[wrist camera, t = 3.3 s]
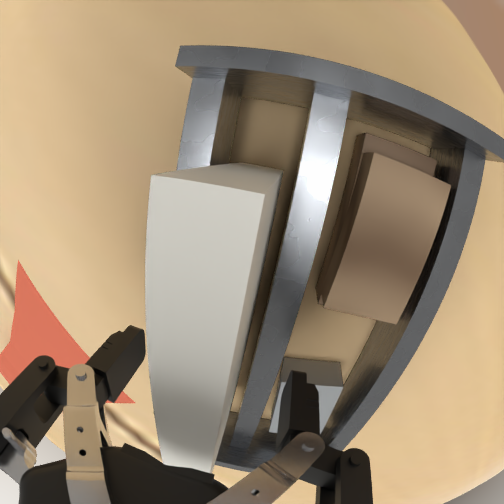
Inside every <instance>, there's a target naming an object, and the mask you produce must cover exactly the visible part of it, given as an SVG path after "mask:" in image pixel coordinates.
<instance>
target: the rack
mask: <svg viewBox="0 0 504 504" xmlns="http://www.w3.org/2000/svg"><path fill="white" fill-rule="evenodd" d="M175 66H176V67H177V68H179V69H180V70H181V71H183V72H184V73H186V74H187V75H189V76H190V77H192V78H193V80H192V85H191V89H190V94H189V99H188V104H187V109H186V115H185V120H184V126H183V131H182V137H181V144H180V150H179V157H178V163H177V170H184V169H191V168H198V167H206V166H214V165H222V164H229V162H230V156H231V150H232V145H233V139H234V134H235V128H236V123H237V118H238V113H239V108H240V103H241V98H242V97H246V98H253V99H260V100H267V101H273V102H279V103H284V104H290V105H295V106H300V107H304V108H309V112H308V117H307V123H306V128H305V133H304V138H303V143H302V148H301V153H300V158H299V163H298V168H297V172H296V177H295V182H294V187H293V191H292V196H291V201H290V205H289V210H288V215H287V219H286V224H285V228H284V233H283V237H282V241H281V246H280V250H279V255H278V259H277V263H276V267H275V272H274V276H273V280H272V284H271V288H270V293H269V297H268V301H267V305H266V309H265V313H264V317H263V321H262V325H261V329H260V333H259V337H258V341H257V345H256V349H255V353H254V356H253V360H252V364H251V368H250V372H249V375H248V379H247V383H246V387H245V390H244V394H243V398H242V401H241V405H240V408H239V412H238V413H234V412H229V416H228V419H227V423H226V427H225V430H224V434H223V437H222V441H221V444H220V448H219V451H218V454H217V458H216V461H215V465H218V466H222V467H226V468H231V469H236V470H241V471H246V472H252V471H254V470H255V469H256V468H257V467H259V466H260V465H261V464H263V463H264V462H268V461H269V460H270V459H272V458H273V457H274V456H275V455H276V454H277V453H275V447H276V438H277V433H273V432H269V427H270V420H268V419H262V418H261V416H262V413H263V411H264V408H265V406H266V403H267V400H268V398H269V395H270V393H271V390H272V387H273V385H274V382H275V379H276V376H277V374H278V371H279V368H280V365H281V362H282V359H283V357H284V354H285V351H286V348H287V345H288V342H289V339H290V336H291V333H292V330H293V327H294V324H295V321H296V317H297V314H298V311H299V308H300V305H301V301H302V298H303V295H304V292H305V288H306V285H307V282H308V278H309V275H310V271H311V268H312V264H313V261H314V257H315V253H316V250H317V246H318V242H319V239H320V235H321V231H322V227H323V223H324V219H325V215H326V211H327V207H328V203H329V199H330V195H331V190H332V186H333V182H334V177H335V173H336V168H337V163H338V159H339V154H340V149H341V144H342V139H343V134H344V129H345V123H346V118H349V119H352V120H356V121H359V122H362V123H365V124H369V125H372V126H375V127H378V128H381V129H384V130H387V131H389V132H392V133H395V134H398V135H400V136H403V137H406V138H408V139H411V140H413V141H416V142H418V143H421V144H423V145H426V146H428V147H430V148H431V153H430V158H432V159H435V160H437V162H436V167H435V171H434V176H433V177H435V178H437V179H439V180H441V181H443V182H445V183H447V184H449V185H451V188H450V192H449V196H448V199H447V202H446V206H445V209H444V212H443V215H442V219H441V222H440V225H439V228H438V230H437V233H436V236H435V239H434V242H433V244H432V247H431V250H430V252H429V255H428V257H427V260H426V262H425V265H424V267H423V270H422V272H421V274H420V276H419V279H418V281H417V283H416V285H415V288H414V290H413V292H412V294H411V296H410V298H409V300H408V302H407V305H406V307H405V309H404V311H403V313H402V314H401V316H400V318H399V320H398V322H397V324H393V323H388V322H383V321H379V320H377V322H376V324H375V326H374V329H373V331H372V333H371V335H370V337H369V339H368V341H367V343H366V345H365V347H364V349H363V351H362V353H361V355H360V357H359V359H358V361H357V362H356V364H355V366H354V368H353V370H352V372H351V373H350V375H349V377H348V379H347V380H346V382H345V384H344V386H343V389H342V391H341V394H340V396H339V398H338V400H337V402H336V404H335V406H334V409H333V411H332V413H331V415H330V417H329V419H328V421H327V423H326V425H325V426H324V428H323V430H322V432H321V434H320V436H321V438H322V439H323V441H324V442H325V444H327V445H328V446H330V447H332V448H335V449H337V450H340V451H342V450H343V449H344V448H345V447H346V446H347V445H348V444H349V443H350V441H351V440H352V439H353V438H354V437H355V436H356V435H357V433H358V432H359V431H360V430H361V429H362V428H363V426H364V425H365V424H366V423H367V421H368V420H369V419H370V418H371V416H372V415H373V414H374V413H375V411H376V410H377V409H378V407H379V406H380V405H381V403H382V402H383V401H384V399H385V398H386V396H387V395H388V394H389V392H390V391H391V389H392V388H393V386H394V385H395V384H396V382H397V381H398V379H399V378H400V376H401V375H402V373H403V371H404V370H405V368H406V367H407V365H408V364H409V362H410V360H411V359H412V357H413V355H414V354H415V352H416V350H417V348H418V347H419V345H420V343H421V341H422V340H423V338H424V336H425V334H426V332H427V330H428V329H429V327H430V325H431V323H432V321H433V319H434V317H435V315H436V313H437V311H438V309H439V307H440V304H441V302H442V300H443V298H444V296H445V293H446V291H447V289H448V286H449V284H450V282H451V279H452V277H453V274H454V272H455V269H456V267H457V264H458V261H459V259H460V256H461V253H462V250H463V247H464V244H465V241H466V238H467V235H468V232H469V229H470V225H471V222H472V218H473V215H474V211H475V207H476V203H477V199H478V195H479V190H480V186H481V181H482V176H483V170H484V164H485V160H489V161H497V162H504V139H503V138H502V137H500V136H499V135H497V134H496V133H494V132H493V131H491V130H490V129H488V128H487V127H485V126H484V125H482V124H480V123H479V122H477V121H476V120H474V119H472V118H471V117H469V116H467V115H465V114H464V113H462V112H460V111H458V110H456V109H455V108H453V107H451V106H449V105H447V104H445V103H443V102H441V101H439V100H437V99H435V98H433V97H431V96H429V95H427V94H424V93H422V92H420V91H418V90H415V89H413V88H411V87H408V86H406V85H403V84H401V83H398V82H396V81H393V80H390V79H388V78H385V77H382V76H379V75H376V74H373V73H370V72H367V71H364V70H361V69H358V68H354V67H351V66H347V65H343V64H340V63H336V62H332V61H328V60H323V59H319V58H314V57H310V56H305V55H299V54H294V53H288V52H281V51H274V50H266V49H258V48H247V47H234V46H204V45H196V46H180V49H179V53H178V57H177V61H176V65H175Z"/></svg>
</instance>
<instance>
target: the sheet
mask: <svg viewBox="0 0 504 504" xmlns="http://www.w3.org/2000/svg"><path fill="white" fill-rule="evenodd" d="M42 355H47V356H50V357H52V358H53V359H54V361H55V364H56V365H57V366H61V367H66V368H71V367H72V366H74V365H77V364H85V363H86V362H87V361H88V360H89V359H90V358H89V357H88V355H87V354H86V353H85V352H84V351H83V350H82V349H81V348H80V346H79V345H78V344H77V343H76V342H75V340H74V339H73V338H72V337H71V336H70V334H69V333H68V332H67V331H66V329H65V328H64V327H63V326H62V324H61V323H60V322H59V321H58V319H57V318H56V317H55V315H54V314H53V313H52V311H51V310H50V308H49V307H48V306H47V304H46V303H45V301H44V300H43V298H42V297H41V296H40V294H39V293H38V291H37V290H36V288H35V287H34V285H33V283H32V282H31V280H30V279H29V277H28V276H27V274H26V272H25V271H24V269H23V267H22V266H21V264H20V262H19V260H18V266H17V277H16V291H15V313H14V319H13V325H12V331H11V339H10V342H9V344H8V345H7V346H6V347H5V349H4V350H3V351H2V352H1V354H0V372H1V374H2V375H3V376H4V378H5V379H6V380H7V381H8V383H9V384H11V383H12V382H13V381H14V379H15V378H16V377H17V376H18V375H19V374H20V373H21V372H22V371H23V370H24V369H25V368H26V367H27V366H28V365H29V364H30V363H31V362H32V361H33V360H34V359H35V358H37V357H38V356H42ZM105 403H113V402H111V401H108V400H107V401H106V402H105ZM115 403H135V402H134V401H133V400H132V399H131V398H129V397H128V396H127V395H126V394H125V393H124V392H123V391H122V392H121V394H120V395H119V397H118V398H117V400H116V401H115Z"/></svg>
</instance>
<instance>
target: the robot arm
mask: <svg viewBox="0 0 504 504" xmlns="http://www.w3.org/2000/svg"><path fill="white" fill-rule="evenodd" d="M145 352H146V350H145V334H144V330H143V329H140V328H137V327H134V326H132V325H130V326H128V327H127V328H126V330H125V331H124V332H121V331H118V332H116V333H114V334H112V335H111V336H110V337H109V338H108V339H107V340H106V342H104V343H103V345H102V346H101V347H100V348H99V349H98V350H97V351H96V352H95V353H94V354H93V356H92V357H91V358H90V359H89V360H88V361H87V362H86V363H85V364H77V365H74V366H72V367H71V368H66V367H61V366H57V365H56V364H55V361H54V359H53V358H52V357H50V356H47V355H42V356H38V357H37V358H35V359H34V360H33V361H32V362H31V363H30V364H29V365H28V366H27V367H26V368H25V369H24V370H23V371H22V372H21V373H20V374H19V375H18V376H17V377H16V378H15V379H14V381H13V382H12V383H11V384H10V385H9V386H8V387H7V388H6V389H5V390H4V391H3V392H2V393H1V395H0V469H1V470H2V471H4V472H5V473H6V474H8V475H9V476H10V477H11V478H12V479H14V480H15V481H16V482H17V483H18V484H19V485H20V497H19V504H272V503H273V502H274V501H275V500H277V499H278V498H279V497H280V496H281V495H282V494H283V493H284V492H285V491H286V490H288V489H289V488H290V487H291V486H292V485H293V484H294V483H295V482H296V481H297V480H298V479H300V480H303V481H305V482H308V483H311V484H314V485H317V488H316V503H315V504H373V496H372V482H371V470H370V460H369V457H368V455H367V454H366V453H365V452H364V451H362V450H360V449H357V448H351V449H348V450H346V451H345V452H343V451H340V450H337V449H335V448H332V447H330V446H328V445H327V444H325V442H324V441H323V439H322V438H321V436H320V413H319V392H318V390H317V388H316V386H315V384H311V383H307V373H306V372H301V371H295V370H291V372H290V374H289V377H288V379H287V382H286V384H285V386H284V389H283V392H282V396H281V402H280V412H279V421H278V430H277V438H276V447H275V453H277V454H276V455H275V456H274V457H273V458H272V459H270V460H269V461H268V462H264V463H263V464H261V465H260V466H259V467H257V468H256V469H255V470H254V471H252V472H251V473H250V474H248V475H247V476H246V477H244V478H243V479H242V480H240V481H239V482H238V483H236V484H235V485H234V486H232V487H231V488H229V489H228V488H227V487H226V486H225V485H223V484H222V483H220V482H218V481H216V480H214V475H215V474H211V473H207V472H204V471H200V470H196V469H193V468H186V467H177V466H169V465H165V464H163V463H162V462H160V461H158V460H157V459H155V458H154V457H152V456H151V455H149V454H148V453H146V452H145V451H142V450H140V449H137V448H135V447H133V446H131V445H128V444H126V443H124V445H123V447H116V446H112V443H111V440H110V437H109V432H108V426H107V419H106V412H105V406H104V404H105V402H106V401H107V400H108V401H111V402H113V403H115V401H116V400H117V398H118V397H119V395H120V394H121V392H122V391H123V389H124V388H125V387H126V385H127V384H128V382H129V381H130V379H131V378H132V376H133V375H134V373H135V372H136V370H137V369H138V368H139V366H140V365H141V363H142V362H143V360H144V357H145ZM62 411H63V421H64V440H65V452H66V459H63V460H59V461H55V462H52V463H48V464H44V465H40V466H35V467H34V464H36V457H37V454H36V450H35V448H36V447H37V445H38V444H39V442H40V441H41V440H42V438H43V437H44V435H45V434H46V433H47V431H48V430H49V429H50V427H51V426H52V424H53V423H54V422H55V420H56V419H57V418H58V416H59V415H60V414H61V412H62Z"/></svg>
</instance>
